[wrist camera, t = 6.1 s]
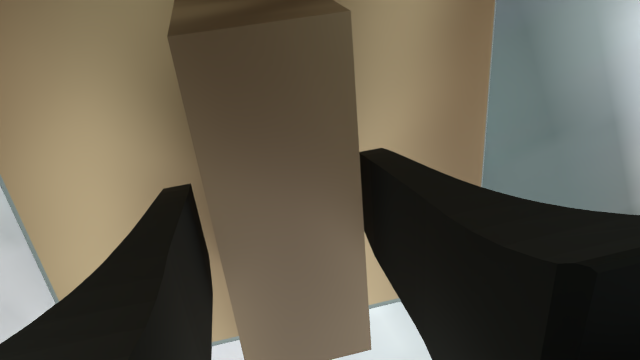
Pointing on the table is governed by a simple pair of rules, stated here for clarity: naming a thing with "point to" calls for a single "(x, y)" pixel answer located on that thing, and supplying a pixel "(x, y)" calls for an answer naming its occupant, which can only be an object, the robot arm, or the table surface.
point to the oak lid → (238, 140)
